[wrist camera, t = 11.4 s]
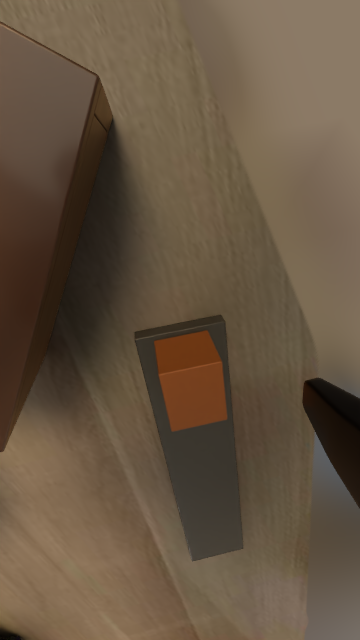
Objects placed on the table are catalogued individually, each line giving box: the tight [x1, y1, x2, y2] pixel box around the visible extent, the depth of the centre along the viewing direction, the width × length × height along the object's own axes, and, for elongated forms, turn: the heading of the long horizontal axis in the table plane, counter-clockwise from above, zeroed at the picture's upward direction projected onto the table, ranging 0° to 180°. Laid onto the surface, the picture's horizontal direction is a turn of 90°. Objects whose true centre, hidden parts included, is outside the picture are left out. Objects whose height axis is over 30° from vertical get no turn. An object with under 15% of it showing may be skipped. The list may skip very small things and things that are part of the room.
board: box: [135, 315, 243, 561], centre depth 27 cm, size 30×6×1 cm, turn 8°
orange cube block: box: [154, 330, 227, 432], centre depth 19 cm, size 5×4×4 cm
